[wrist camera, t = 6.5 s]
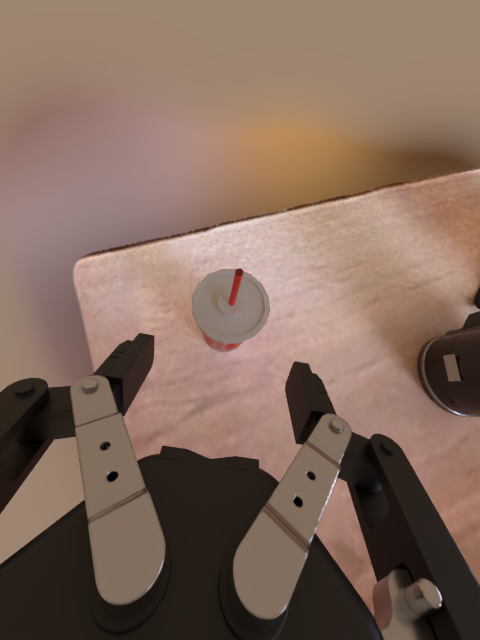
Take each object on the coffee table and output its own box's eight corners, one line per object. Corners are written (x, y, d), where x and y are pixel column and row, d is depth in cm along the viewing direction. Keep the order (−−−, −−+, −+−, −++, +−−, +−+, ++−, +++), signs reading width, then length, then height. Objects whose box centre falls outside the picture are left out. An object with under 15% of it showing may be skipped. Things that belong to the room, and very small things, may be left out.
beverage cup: (186, 340, 26) (161, 286, 13) (215, 297, 28) (221, 210, 15) (233, 369, 26) (260, 344, 12) (260, 324, 28) (307, 259, 14)
